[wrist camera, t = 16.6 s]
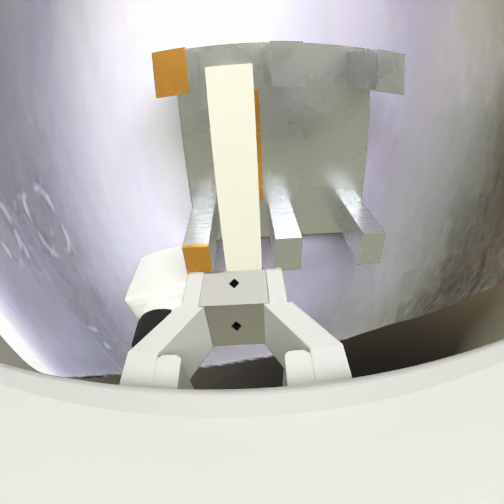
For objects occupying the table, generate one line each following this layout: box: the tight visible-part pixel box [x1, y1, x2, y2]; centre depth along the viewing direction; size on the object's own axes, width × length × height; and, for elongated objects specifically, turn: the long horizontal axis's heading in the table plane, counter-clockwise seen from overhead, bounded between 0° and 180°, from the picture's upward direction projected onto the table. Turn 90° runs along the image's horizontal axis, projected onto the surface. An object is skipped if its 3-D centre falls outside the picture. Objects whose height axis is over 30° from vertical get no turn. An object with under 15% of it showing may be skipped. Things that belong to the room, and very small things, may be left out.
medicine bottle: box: [125, 244, 215, 348], centre depth 28 cm, size 7×7×12 cm
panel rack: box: [152, 41, 405, 275], centre depth 22 cm, size 16×18×8 cm
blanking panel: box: [205, 64, 262, 271], centre depth 21 cm, size 2×14×8 cm, turn 3°
